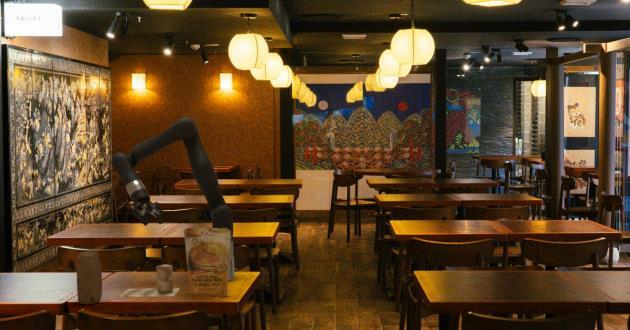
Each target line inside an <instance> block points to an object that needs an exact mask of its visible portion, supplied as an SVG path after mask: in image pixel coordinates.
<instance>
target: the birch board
mask: <svg viewBox="0 0 630 330" xmlns="http://www.w3.org/2000/svg"><path fill="white" fill-rule="evenodd" d="M180 290H181V287H178V288H177V287H173V292H172V293H168V294H160V293H157V287H155V288H152V287H150V288H149V287H148V288H127V289H126V290H125V291H124V292H123V293H122V294H120V296H119V297H120V298H136V297H137V298H139V297H140V298H141V297H142V298H145V297H147V298H149V297H150V298H151V297H152V298H153V297H175V296H176V295H177V293H178V292H179V291H180Z"/></svg>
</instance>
